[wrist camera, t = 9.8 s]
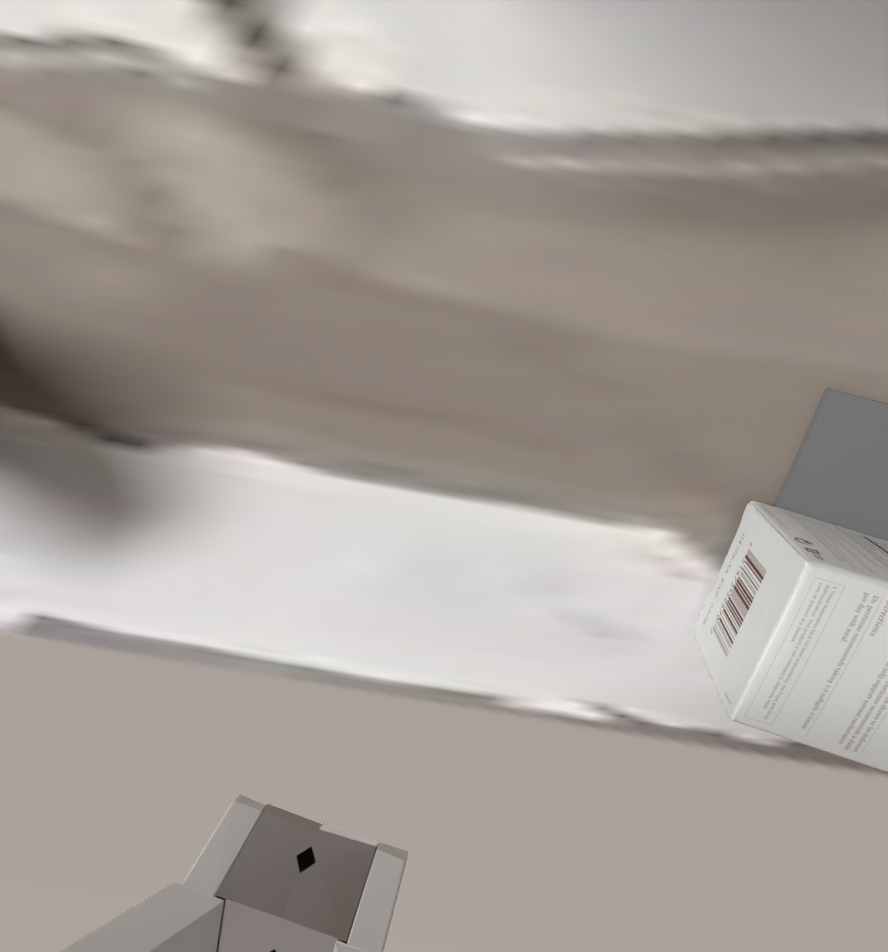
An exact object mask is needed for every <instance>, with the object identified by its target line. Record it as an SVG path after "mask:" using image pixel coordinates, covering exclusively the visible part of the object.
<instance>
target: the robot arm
mask: <svg viewBox="0 0 888 952" xmlns="http://www.w3.org/2000/svg"><path fill="white" fill-rule="evenodd" d="M377 846H378V847H377ZM407 855H408V852H407V851H405V850H402V849H399V848H395V847H392V846H389V845H386V844H383V843H379V844H378V841H377V840H374V839H371V838H368V837H365V836H362V835H359V834H356V833H352V832H349V831H346V830H343V829H340V828H337V827H333V826H331V825H328V824H324V823H323V824H320V823H317V822H315V821H312V820H309V819H306V818H304V817H301V816H299V815H296V814H293V813H290V812H288V811H285V810H283V809H280V808H277V807H274V806H272V805H269V804H267V803H264V802H261V801H258V800H255V799H252V798H249V797H246V796H243V795H239V796H238V797H237V798H236V799H235V800H234V801H233V802H232V803H231V805H230V807H229V808H228V810H227V812H226V813H225V815H224V816H223V818H222V820H221V821H220V823H219V825H218V826H217V828H216V829H215V831H214V832H213V834H212V836H211V837H210V839H209V841H208V842H207V844H206V845H205V847H204V849H203V850H202V852H201V854H200V855H199V857H198V858H197V860H196V862H195V863H194V865H193V867H192V868H191V870H190V871H189V873H188V875H187V876H186V878H185V880H184V881H183V883H182V884H178V883H175V882H172V883H170V884H169V885H167V886H165V887H164V888H162V889H160V890H159V891H157V892H155V893H154V894H152V895H151V896H149V897H147V898H146V899H144V900H142V901H141V902H139V903H138V904H136V905H134V906H133V907H131V908H129V909H128V910H126V911H125V912H123V913H121V914H120V915H118V916H116V917H115V918H113V919H112V920H110V921H108V922H107V923H105V924H103V925H102V926H100V927H99V928H97V929H95V930H94V931H92V932H91V933H89V934H87V935H86V936H84V937H82V938H81V939H79V940H78V941H76V942H74V943H73V944H71V945H69V946H68V947H66V948H65V949H63V950H61V951H60V952H383V950H384V947H385V943H386V939H387V935H388V931H389V927H390V923H391V919H392V915H393V911H394V908H395V904H396V900H397V895H398V892H399V888H400V884H401V880H402V876H403V872H404V869H405V865H406V861H407Z"/></svg>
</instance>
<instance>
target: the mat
mask: <svg viewBox="0 0 888 952" xmlns="http://www.w3.org/2000/svg"><path fill="white" fill-rule="evenodd" d="M774 507H778V508H781V509H784V510H788V511H791V512H794V513H797V514H801V515H804V516H807V517H810V518H813V519H817V520H820V521H823V522H826V523H830V524H833V525H836V526H840V527H843V528H846V529H849V530H853V531H856V532H859V533H863V534H866V535H869V536H872V537H876V538H879V539H882V540H886V541H888V404H885V403H881V402H878V401H874V400H870V399H866V398H862V397H858V396H854V395H850V394H846V393H842V392H838V391H834V390H831V389H827V388H826V390H825V393H824V395H823V397H822V399H821V402H820V404H819V406H818V409H817V411H816V413H815V415H814V418H813V420H812V422H811V424H810V427H809V429H808V431H807V433H806V436H805V438H804V440H803V442H802V445H801V447H800V449H799V452H798V454H797V456H796V458H795V461H794V463H793V465H792V467H791V470H790V472H789V474H788V476H787V479H786V481H785V483H784V485H783V488H782V490H781V492H780V495H779V497H778V499H777V501H776V504H775V506H774Z"/></svg>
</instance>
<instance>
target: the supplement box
mask: <svg viewBox="0 0 888 952" xmlns="http://www.w3.org/2000/svg"><path fill="white" fill-rule="evenodd" d="M692 632H693V635H694V638H695V640H696V642H697V645H698V647H699V650H700V652H701V654H702V657H703V659H704V662H705V664H706V667H707V669H708V671H709V673H710V676H711V678H712V680H713V683H714V685H715V687H716V689H717V692H718V694H719V697H720V699H721V701H722V703H723V705H724V708H725V710H726V712H727V715H728V717H729V718H730V720H733V721H735V722H739V723H742V724H745V725H748V726H751V727H754V728H757V729H760V730H763V731H766V732H769V733H772V734H775V735H778V736H781V737H784V738H787V739H790V740H793V741H796V742H799V743H802V744H805V745H808V746H811V747H814V748H817V749H820V750H823V751H826V752H829V753H832V754H835V755H838V756H841V757H844V758H847V759H850V760H853V761H856V762H859V763H862V764H865V765H868V766H871V767H874V768H877V769H880V770H883V771H886V772H888V541H886V540H882V539H879V538H876V537H872V536H869V535H866V534H863V533H859V532H856V531H853V530H849V529H846V528H843V527H840V526H836V525H833V524H830V523H826V522H823V521H820V520H817V519H813V518H810V517H807V516H804V515H801V514H797V513H794V512H791V511H788V510H784V509H781V508H778V507H774V506H771V505H767V504H764V503H760V502H756V501H751V502H749V503H748V504H747V506H746V509H745V511H744V513H743V516H742V520H741V523H740V526H739V528H738V531H737V533H736V535H735V538H734V540H733V542H732V545H731V547H730V549H729V551H728V554H727V556H726V558H725V561H724V563H723V565H722V567H721V570H720V572H719V574H718V577H717V579H716V581H715V583H714V585H713V588H712V590H711V592H710V594H709V596H708V599H707V601H706V603H705V605H704V607H703V609H702V611H701V613H700V615H699V617H698V618H697V620H696V622H695V623H694V624H693V626H692Z"/></svg>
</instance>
